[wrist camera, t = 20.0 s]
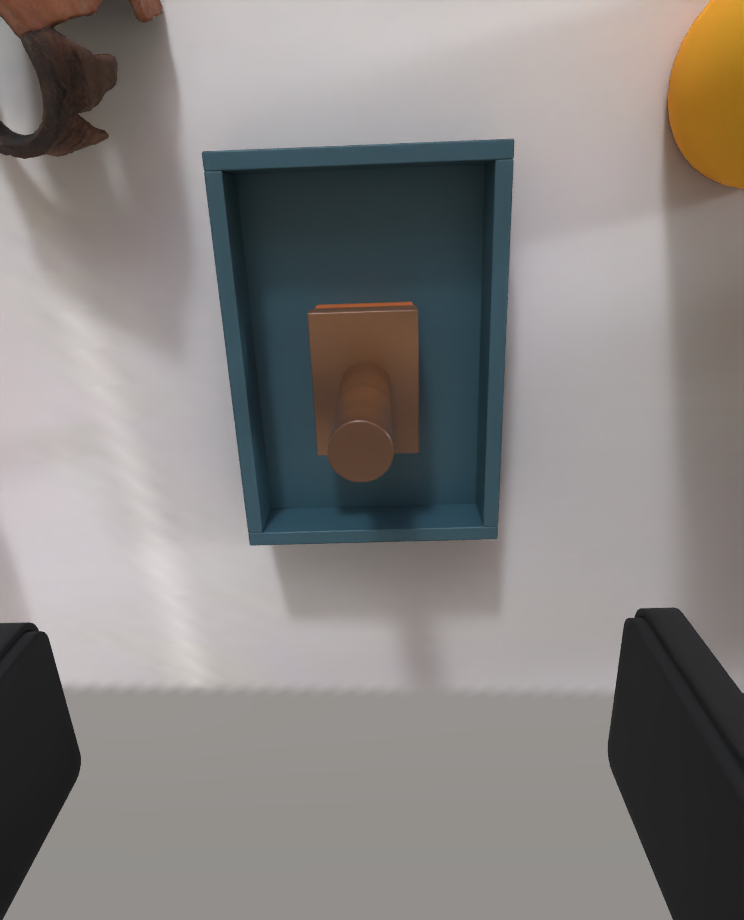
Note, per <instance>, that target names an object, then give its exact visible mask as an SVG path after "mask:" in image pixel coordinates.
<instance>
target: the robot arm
mask: <svg viewBox="0 0 744 920" xmlns="http://www.w3.org/2000/svg"><path fill="white" fill-rule="evenodd" d="M608 757H609V762H610V767H611V770H612V773H613V775H614V777H615V780H616V782H617V785H618V787H619V790H620V792H621V794H622V797H623V799H624V802H625V804H626V807H627V809H628V811H629V814H630V816H631V819H632V821H633V824H634V826H635V828H636V831H637V833H638V836H639V838H640V840H641V843H642V845H643V848H644V850H645V853H646V855H647V857H648V860H649V862H650V865H651V867H652V869H653V872H654V875H655V877H656V879H657V882H658V884H659V887H660V889H661V891H662V894H663V896H664V899H665V901H666V904H667V906H668V909H669V911H670V913H671V916H672V918H673V920H744V693H742V692H741V691H740V689H739V688H738V687H737V685H736V684H735V683H734V681H733V680H732V679H731V677H730V676H729V675H728V673H727V672H726V671H725V669H724V668H723V667H722V665H721V664H720V663H719V661H718V660H717V659H716V657H715V656H714V655H713V653H712V652H711V651H710V649H709V648H708V647H707V645H706V644H705V643H704V641H703V640H702V639H701V637H700V636H699V635H698V633H697V632H696V630H695V629H694V628H693V626H692V625H691V624H690V622H689V621H688V620H687V618H686V617H685V616H684V614H683V613H682V612H681V611H680V610H679V609H677V608H641V609H639V610H638V611H637V612H636V614H635V618H628V619H626V621H625V623H624V629H623V636H622V644H621V651H620V658H619V666H618V673H617V681H616V688H615V695H614V703H613V710H612V718H611V726H610V733H609V740H608ZM80 766H81V756H80V751H79V747H78V744H77V740H76V737H75V733H74V729H73V725H72V722H71V718H70V714H69V711H68V707H67V704H66V700H65V696H64V693H63V689H62V685H61V682H60V678H59V674H58V671H57V667H56V663H55V660H54V656H53V652H52V649H51V645H50V641H49V638H48V636H47V634H46V633H45V632H42V631H39V630H38V628H37V627H36V625H35V624H33V623H0V920H3V918H4V916H5V914H6V912H7V910H8V908H9V906H10V905H11V903H12V901H13V899H14V897H15V895H16V893H17V891H18V889H19V888H20V886H21V884H22V882H23V880H24V878H25V876H26V874H27V872H28V871H29V869H30V867H31V865H32V863H33V861H34V859H35V857H36V855H37V854H38V852H39V850H40V848H41V846H42V844H43V842H44V840H45V839H46V837H47V835H48V833H49V831H50V829H51V827H52V825H53V823H54V822H55V819H56V818H57V816H58V813H59V812H60V810H61V808H62V806H63V805H64V802H65V801H66V799H67V797H68V795H69V793H70V791H71V789H72V788H73V786H74V784H75V782H76V780H77V777H78V775H79V771H80Z"/></svg>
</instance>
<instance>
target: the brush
mask: <svg viewBox="0 0 744 920" xmlns="http://www.w3.org/2000/svg"><path fill="white" fill-rule="evenodd" d="M308 329H309V343H310V357H311V371H312V385H313V399H314V413H315V427H316V441H317V455H318V456H326V455H327V457H328V461H329V463H330V465H331V467H332V468H333V469H334V471H335V472H336V473H337V474H338V475H340V476H341V477H343V478H344V479H347V480H349V481H353V482H369V481H372V480H375V479H377V478H379V477H380V476H382V475H383V474H384V473H385V472H386V471H387V470H388V468H389V467H390V465H391V463H392V461H393V457H394V454H399V453H419V331H418V308H417V306H416V305H413V303H412V302H386V303H356V304H326V305H317V306H316V307H315V308H313V309H310V311H309V312H308Z"/></svg>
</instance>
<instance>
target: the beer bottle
mask: <svg viewBox="0 0 744 920" xmlns="http://www.w3.org/2000/svg"><path fill="white" fill-rule="evenodd" d="M668 111H669V122H670V125H671V129H672V132H673V136H674V139H675V141H676V143H677V145H678V147H679V149H680V151H681V153H682V154H683V156H684V157H685V158H686V159H687V160H688V162H689V163H690V164H691V165H692V166H693V167H694V168H695V169H696V170H698V171H699V172H700V173H701V174H703V175H704V176H705V177H707V178H710V179H712V180H714V181H716V182H718V183H720V184H723V185H726V186H731V187H735V188H740V189H744V0H711V1H710V2H709V3H708V5H707V6H706V7H705V8H704V10H703V11H702V12H701V13H700V15H699V16H698V17H697V18H696V20H695V21H694V22H693V24H692V26H691V27H690V29H689V31H688V33H687V34H686V36H685V38H684V39H683V41H682V43H681V46H680V48H679V51H678V53H677V56H676V58H675V61H674V64H673V68H672V72H671V77H670V81H669V91H668Z"/></svg>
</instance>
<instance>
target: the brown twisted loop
mask: <svg viewBox="0 0 744 920" xmlns="http://www.w3.org/2000/svg"><path fill="white" fill-rule="evenodd" d="M129 2H130V4H131V6H132V8H133V11H134V13H135V16H136V18H137V19H138V21H140V22H148V21H150V20H152V19H153V17H155V16H158V15H161V14H162V4H161V2H160V0H129ZM100 5H101V0H0V16H1V17H2V18H3V19H4V21H5V22H6V23H7V24H8V25H9V26H10V28H11V29H12V30H13V32H14V33H15V34H16V35H17V36H18V37H19V38H20V39H21V41H22V44H23V46H24V48H25V50H26V52H27V54H28V56H29V58H30V60H31V62H32V64H33V66H34V68H35V71H36V73H37V76H38V79H39V83H40V88H41V93H42V98H43V118H42V119H43V121H42V123H41V124H40V126H39V128H38V130H37V131H35V133H33V134H30V135H21V134H17V133H15V132H13V131H11V130H10V129H9V128H7V127H6V126H5V125H4V124H3V123H2V122H1V121H0V153H1V154H4V155H11V156H13V157H18V158H23V159H26V158H31V157H32V158H33V157H38V156H41V155H46V154H47V155H52V156H57V157H59V156H64V155H67V154H69V153H73V152H74V151H76V150H79V149H82V148H85V147H88V146H90V145H95V144H97V143H99V142H101V141H103V140H105V139H107V138H108V137H109V135H108V133H107V132H106V131H104V130H101V129H98V128H96V127H94V126H92V125H91V124H90V123H89V122H87V121H86V120H85V119H83V118H82V117H80V116H79V115H78V114H79V113H82V112H86V111H90V110H92V109H93V108H94V107H95V106H97V105H98V104H99V103H100V101H101V100H102V98H103V96H104V94H105V93H106V92H107V91H108V90H110V89H112V88H113V87H114V86H115V85H116V82H117V61H116V58H115V57H114V56H113V55H112V54H98V55H94V54H93V53H92V52H91V51H89V50H87V49H86V48H84V47H82V46H80V45H78V44H75V43H74V42H72V41H70V40H69V39H67V38H66V37H65V36H64V35H62V34H61V33H59V32H57V31H56V30H55V29H54V26H56V25H58V24H60V23H63V22H66V21H68V20H70V19H73V18H77V17H80V16H90V15H93V14H95V13H96V12H97V9H98V8H99V6H100Z"/></svg>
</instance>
